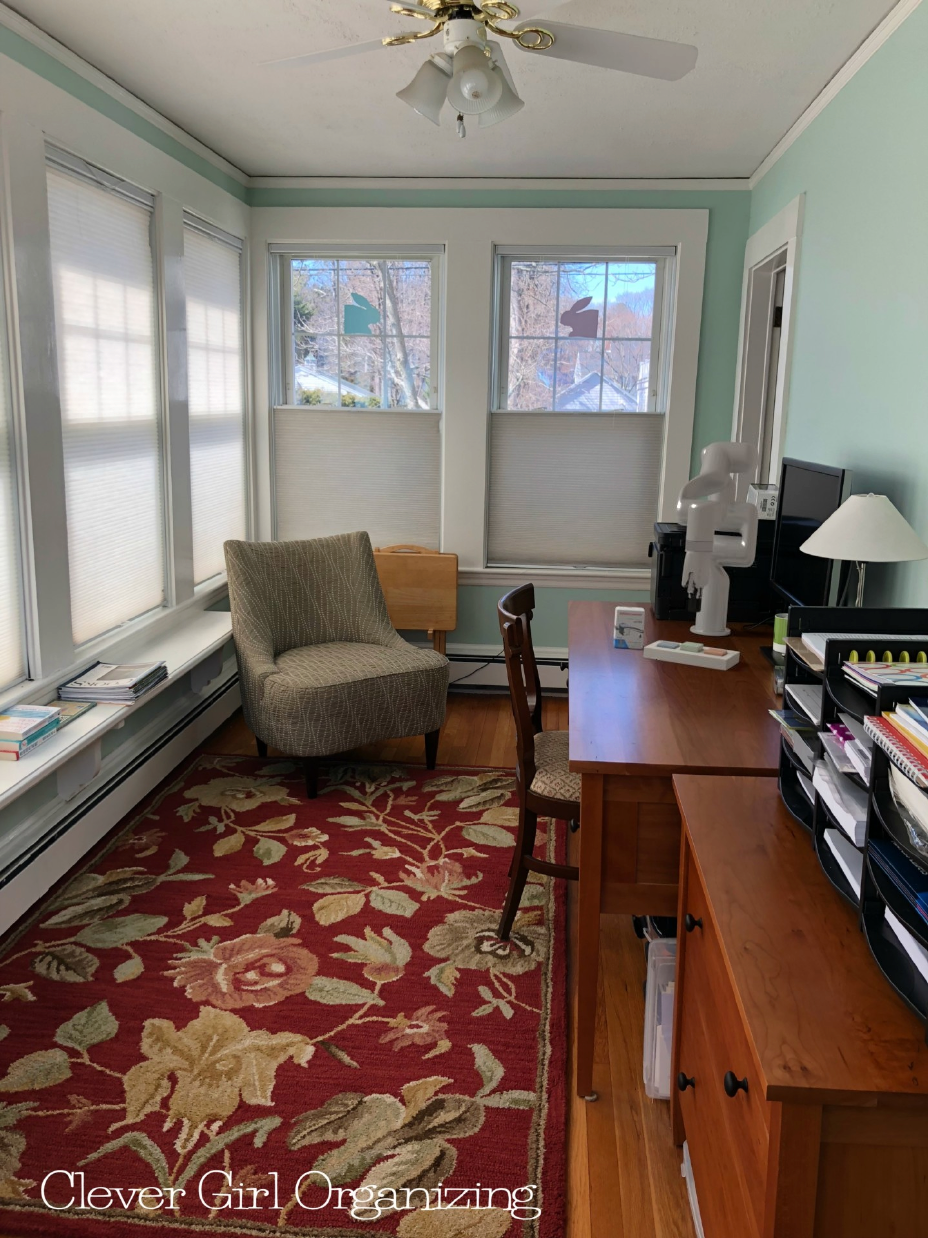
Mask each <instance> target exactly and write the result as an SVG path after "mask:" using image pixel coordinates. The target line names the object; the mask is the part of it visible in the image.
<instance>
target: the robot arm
mask: <svg viewBox="0 0 928 1238" xmlns="http://www.w3.org/2000/svg"><path fill="white" fill-rule="evenodd" d="M759 455H760V454H759V451H758V448H757V446H756V445H754V444H751V443H750V442H742V441H741V442H739V441H738V442H736V441H715V442H712V443H711V444H709V445H708V446H704V447H703V448H702V449H701V453H700V460H701V461H700V462H701V466H700V467H701V468H700V471H699V475H696V476H695V477H693V478H692V479H690V480H689V481H688V482H686V483H685V484H684V485H683V486H682V487H681V489H680V490H679V493H678V496H677V500H676V503H675V508H674V518H675V519H674V520H675V521H676V523H677V524H678V525H680V526H685V527H686V535H685V550H684V552H686V553H685V558H684V563H683V570H682V578H681V579H682V580H681V586H682V587H683V588H687V593H688V606H687V611H688V612H692V613H696V617H695V625H692V626H691V627H690V629H689V631H690V632H691V633H694V634H697V635H702V636H708V637H709V636H710V637H721V636H722V637H724V636H728V635H731V629H729V628H728V627H726V625H727V614H728V605H729V604H728V602H729V592H730V591H729V590H730V578H729V577H730V576H729V575H728V573H727V572H726V571H725V569H724V568H723V567H736V568H739V567H740V568H748V567H751V566H752V565H753V564H754V561H755V557H756V549H757V548H756V547H757V539H758V538H757V536H758V527H759V526H758V525H759V524H758V523H759V512H758V508H757V506H756V504H753V503H752V502H746V501H744V502H743V501H736V493H737V484H736V483H735V481H734V479H733V477H732V476H731V474H747V475H752V474H754V473H755V472H756V470H757V469H758V466H759V461H760V458H759V457H760V456H759ZM704 497H707V499H700V498H704ZM715 531H716V532H717V531H719V532H729V533H731V532H733V533H739V534H740V535H741V536H735V535H733V536H731V535H722V534H721V535H720V534H715Z"/></svg>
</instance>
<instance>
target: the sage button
mask: <svg viewBox="0 0 928 1238" xmlns="http://www.w3.org/2000/svg"><path fill="white" fill-rule="evenodd" d="M703 647H704V643H699V642H698V643H697V642H692V641H691V642H690V641H684V642H683V644H681V645H680V650H682V651H689V652H695V653H699V652H701V651H702V650H703Z"/></svg>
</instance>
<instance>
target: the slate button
mask: <svg viewBox="0 0 928 1238" xmlns="http://www.w3.org/2000/svg"><path fill="white" fill-rule="evenodd" d="M662 641H663V642H661V643H658V644H657V647H662V648H669V649H676V648H678V647H679V646H680V644H679V643H680V642H676V643H672V642H673V641H669V642H665V641H666V640H662Z"/></svg>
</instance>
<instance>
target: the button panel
mask: <svg viewBox="0 0 928 1238" xmlns="http://www.w3.org/2000/svg"><path fill="white" fill-rule="evenodd" d="M663 641H665V642H670V641H669V640H662V639H659V640H657V641H654V642H652V643H650V644H647V645H646V646H644V647H643V656H642V657H643V658H646V659H651V660H656V659H657V660H658V661H663V662H669V663H677V664H683V665H687V666H688V665H689V666H690V665H691V666H694V667H703V668H707V669H713V670H720V671H727V670H728V669H731V668H732V667H734V666H735V665H736V664H738V663H739V661H740V654H741V652H740V651H735V650H728V649H725V650H726V651H727V654H726V655H724V656H723V657H722V656H715V655H709V654H704V651H706V650H708V649H709V648H711V646H710V647H709V646H703V650H702V651H701V652H699V653H695V652H689V651H682V650H680V646H679V647H678V648H676V649H669V648H662V647H657V644H658V643H661V642H663ZM671 642H672V643H677V642H676V641H671ZM678 643H679V644H680V645H681V644H683V643H684V642H683V643H681V642H678ZM712 648H713V649H717V648H715V647H712ZM718 649H719V650H724V649H723V648H718ZM657 660H656V661H657Z"/></svg>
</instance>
